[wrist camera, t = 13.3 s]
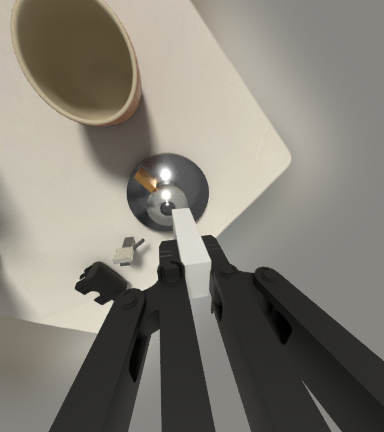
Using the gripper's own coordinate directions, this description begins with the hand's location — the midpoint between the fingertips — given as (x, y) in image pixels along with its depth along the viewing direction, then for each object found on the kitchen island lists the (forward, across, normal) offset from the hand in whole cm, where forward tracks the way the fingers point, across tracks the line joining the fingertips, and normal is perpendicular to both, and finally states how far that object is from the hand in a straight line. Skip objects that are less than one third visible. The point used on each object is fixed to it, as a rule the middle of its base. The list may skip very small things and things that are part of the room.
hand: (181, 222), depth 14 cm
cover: (+22, 0, -6) cm, 23 cm away
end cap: (+25, -19, -28) cm, 42 cm away
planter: (+25, -9, +14) cm, 30 cm away
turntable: (+24, 0, -6) cm, 25 cm away
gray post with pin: (+24, -10, -17) cm, 31 cm away
